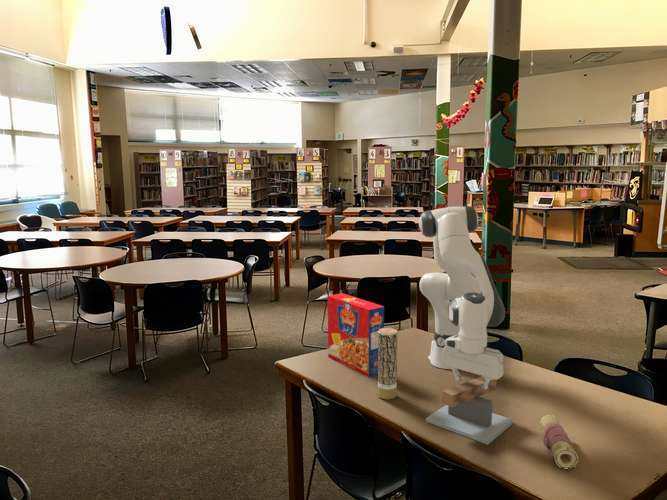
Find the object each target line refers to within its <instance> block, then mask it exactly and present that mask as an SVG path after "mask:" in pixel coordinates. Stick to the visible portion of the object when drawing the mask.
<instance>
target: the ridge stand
mask: <svg viewBox="0 0 667 500" xmlns="http://www.w3.org/2000/svg"><path fill="white" fill-rule="evenodd" d="M493 402H494V401H493V400H491V399H487V398H485V397H482V396H479V397H477V398H474V399H472V400H469V401H467V402H464V403H462V404H460V405H457V406H455V407H450V406H448V405H445V404H444V406H442V407H441V408H439V409H438V410H436V411H435V412H433V413H431V414H430V415H428V416H427V417H426V418H425V422H426V423H428V424H430V425H431V424H432V425H434V426H436V427H439V428H442V429H445V430H447V431H450V432H453V433H454V434H458V435H461V436H464V437H466V438H469V439H471V440H474V441H477V442H479V443H482V444H484V445H487V446H488V445H489V444H491V443H492V442H493V441H494V440H496V439H497V438H498V437H499V436H500V435H501V434H503V432H504V433H505V431H506V430H507V429H508V428H510V426H512V425H513V424H514V419H512V418H509V417H506V416H504V415H500V414H497V413H494V412H493Z"/></svg>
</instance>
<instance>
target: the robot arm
mask: <svg viewBox="0 0 667 500" xmlns="http://www.w3.org/2000/svg"><path fill="white" fill-rule="evenodd" d="M478 225H479V215H478V213H477V211H476V208H474V207H473V206H470V205H463V206H447V207H442V208H436V209H432V210H431V209H429V210H424V211H423V212H422V213H421V214H420V217H419V220H418V227H419V230H420V232H421V234H422V236H424V237H426V238H432V241H433V242H432V243H433V244H432V246H433V258H434V262H435V264H436V266H437V267H439V268H440V269H441V270H443V271H444V273H443V272H438V271H437V272H436V271H435V272H428V273H427V272H426V273H424V274H423V275H422V276H421V278H420V280H419V291H420V292H421V294H422V295H423V296H424V297H425V298H426V299H427V300H428V301H429V303H430V304H431V307H432V308H433V312H434V320H435V322H434V331H433V340H432V341H431V346H430V354H429V355H428V356H427V359H428V361H429V362H430V364H431V365H432V366H434V367H437V368H439V369H444V370H451V371H452V374H453V375H454V381H456V382H461V381H462V377H463V375H462V374H460V372H459V370H461V371H464V372H467V373H471V374H474V375H477V376H480V377H481V376H484V377H485V380H486V382H483V383H482V384H481V386H482V387H481V388H482V389H488V383H489V382H490V381H491V379H495V380H496V381H497V380H500V379H501V378H502V377H503V376H504V354H503V353H502V352H501V351H500V350H498V349H497V348H496V349H494V348H490V347H487V346H488V333H487V327H490V328H491V327H493V328H495V327H496V328H497V326H499V325H500V324H501V323H502V322H503V321H504V319H505V317H506V309H505V306H504V303H503V301H502V299H501V298H500V295H499V293H498V290H497V287H496V285H495V282H494V280H493V277H492V275H491V272H490V269H489V266H488V264H487V261H486V259H485V257H484V256H483V255H482V254H481V253H479V252H478V251H477V250H476V249H475V248H474V246H473V244H472V242H471V237H470V234H471V233H474V232H475V231H476V230H477V229H478Z"/></svg>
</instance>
